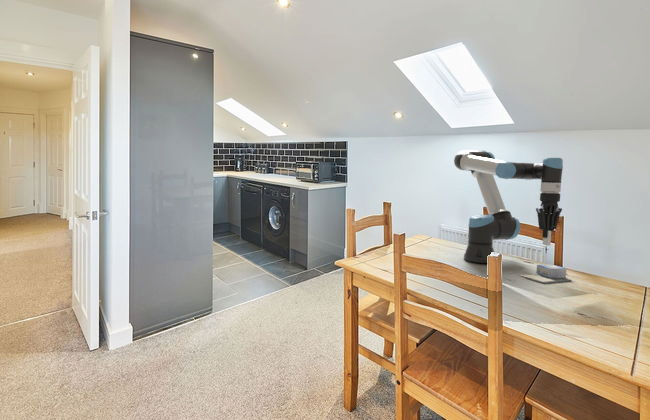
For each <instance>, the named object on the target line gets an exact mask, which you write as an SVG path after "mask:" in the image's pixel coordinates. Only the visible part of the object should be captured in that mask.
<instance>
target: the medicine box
mask: <svg viewBox="0 0 650 420" xmlns="http://www.w3.org/2000/svg"><path fill="white" fill-rule="evenodd" d="M536 274H538V275H539V276H546V277H549V278H566V279H567V268H566V267H563V266H559V265H556V264H537V265H536Z"/></svg>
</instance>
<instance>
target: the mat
mask: <svg viewBox="0 0 650 420" xmlns="http://www.w3.org/2000/svg"><path fill="white" fill-rule="evenodd" d="M519 277H522V278H524V279H525V280H529V281H532V282H536V283H539V284H543V285H551V284H557V283H559V284H560V283H568V282H569V283H570V282H572V281H573V280H572V279H568V278H567V277H566V278H549V277H546V276H542V275H535V274H519Z"/></svg>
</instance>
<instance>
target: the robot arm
mask: <svg viewBox="0 0 650 420" xmlns="http://www.w3.org/2000/svg"><path fill="white" fill-rule="evenodd" d="M495 157H496V156H494V154H493V152H490V151H487V150H471V149H469V150H468V149H467V150H466V149H465V150H461V151H459V152H458V153H456V155H455V156H454V158H453V161H454V162H453V163H454V166H455V167H456V168H457V169H458V170H461V171H468V172H470V173H471V176H472V177H473V178H475V179H476V182H477V184H478V187H479V189H480V193H481V195H482V198H483V201H484V204H485V207H486V210H487V212H488V214H476V215H472V216H470V217H469V219H468V220H469V221H468V234H467V235H468V239H467V247H466V249H465V252H464V254H463V259H464V260H465V261H468V262H471V263H481V264H488V263H487V256H488V255H490V254H491V252H494V253H495V250H494V246H493V243H494V241H495V240H497V241H498V240H499V241H500V240H501V241H504V240H505V241H507V240H513V239H515V238H517V236H518V235H519V234H520V232H521V222H520V220H519V219H518V218H516V217H513V216H512V214H511V211H509V210H508V209H506V206H505V204H504V201H503V198H502V195H501V193H500V190H499V187H498V185H497V182H496V179H495V177H494V176H496V177H498V178H499V179H504V180H511V179H514V180H526V181H527V180H529V181H531V180H540V181H541V182H540V189H539V190H540V193H539V201H540V202H541V203H540V206H539V207H536V208H535V211H536V213H537V214H536V215H537V220H538V229H539V230H541V231H542V235H541V236H542V243H541V244H542V245H544V246H551V243H552V242H551V241H552V235H553V232H555V230H556V229H557V227H558V223H559V218H560V215H561V213H562V211H563V208H561V207H560V206H559V204H558V202H560V201H561V191H562V190H561V189H562V177H563V175H562V174H563V169H564V168H563V167H564V166H563V165H564V160H563V158H561V157H545V158H543V159H542V162H538V163H537V162H536V163H535V162H534V163H532V162H529V163H528V162H513V161H505V160H500V159H496V158H495Z"/></svg>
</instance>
